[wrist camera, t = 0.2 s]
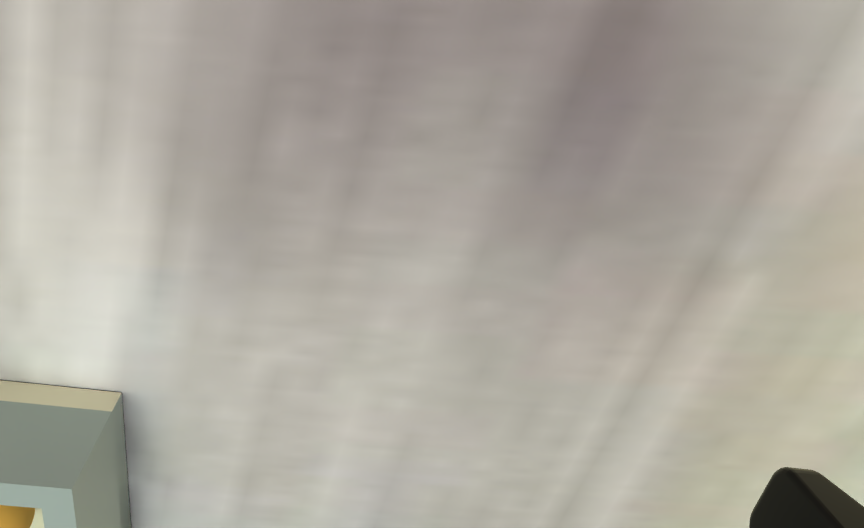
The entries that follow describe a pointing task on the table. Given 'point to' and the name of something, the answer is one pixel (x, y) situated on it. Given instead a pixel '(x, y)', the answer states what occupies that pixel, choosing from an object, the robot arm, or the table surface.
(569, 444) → the table surface
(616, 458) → the table surface
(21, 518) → the clementine
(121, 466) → the grey square box
